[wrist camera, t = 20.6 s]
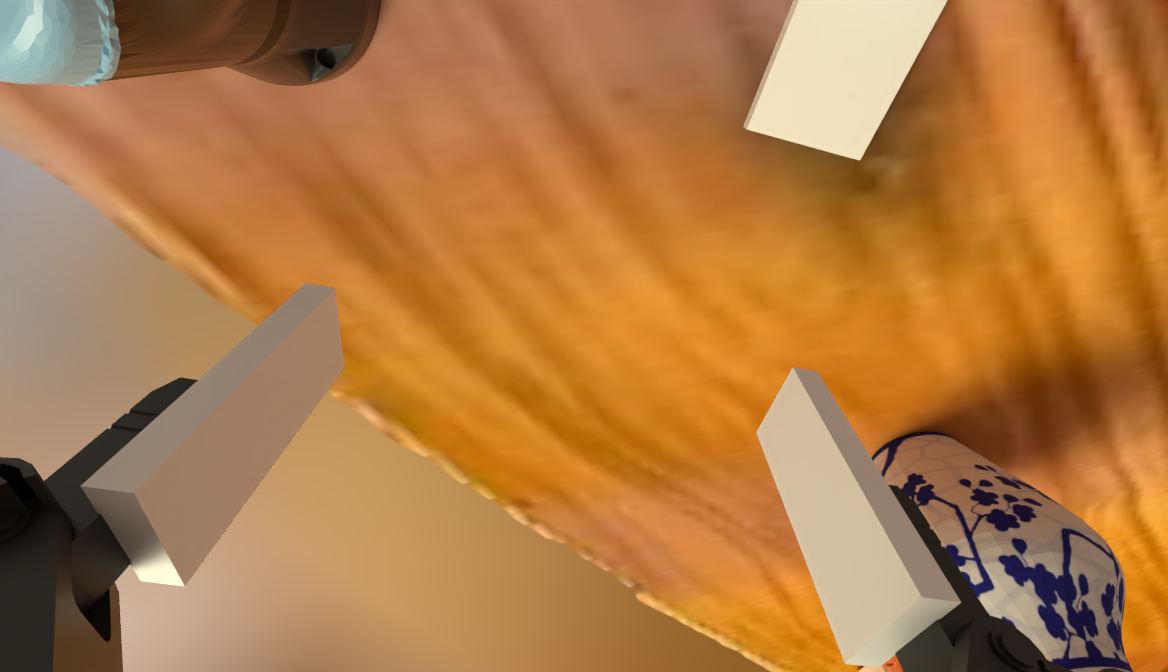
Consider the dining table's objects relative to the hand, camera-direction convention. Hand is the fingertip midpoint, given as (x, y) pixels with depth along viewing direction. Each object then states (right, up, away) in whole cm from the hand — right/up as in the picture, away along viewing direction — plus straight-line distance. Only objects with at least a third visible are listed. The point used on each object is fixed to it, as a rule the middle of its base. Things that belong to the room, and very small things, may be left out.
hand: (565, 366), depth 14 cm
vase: (+42, -15, +46) cm, 64 cm away
